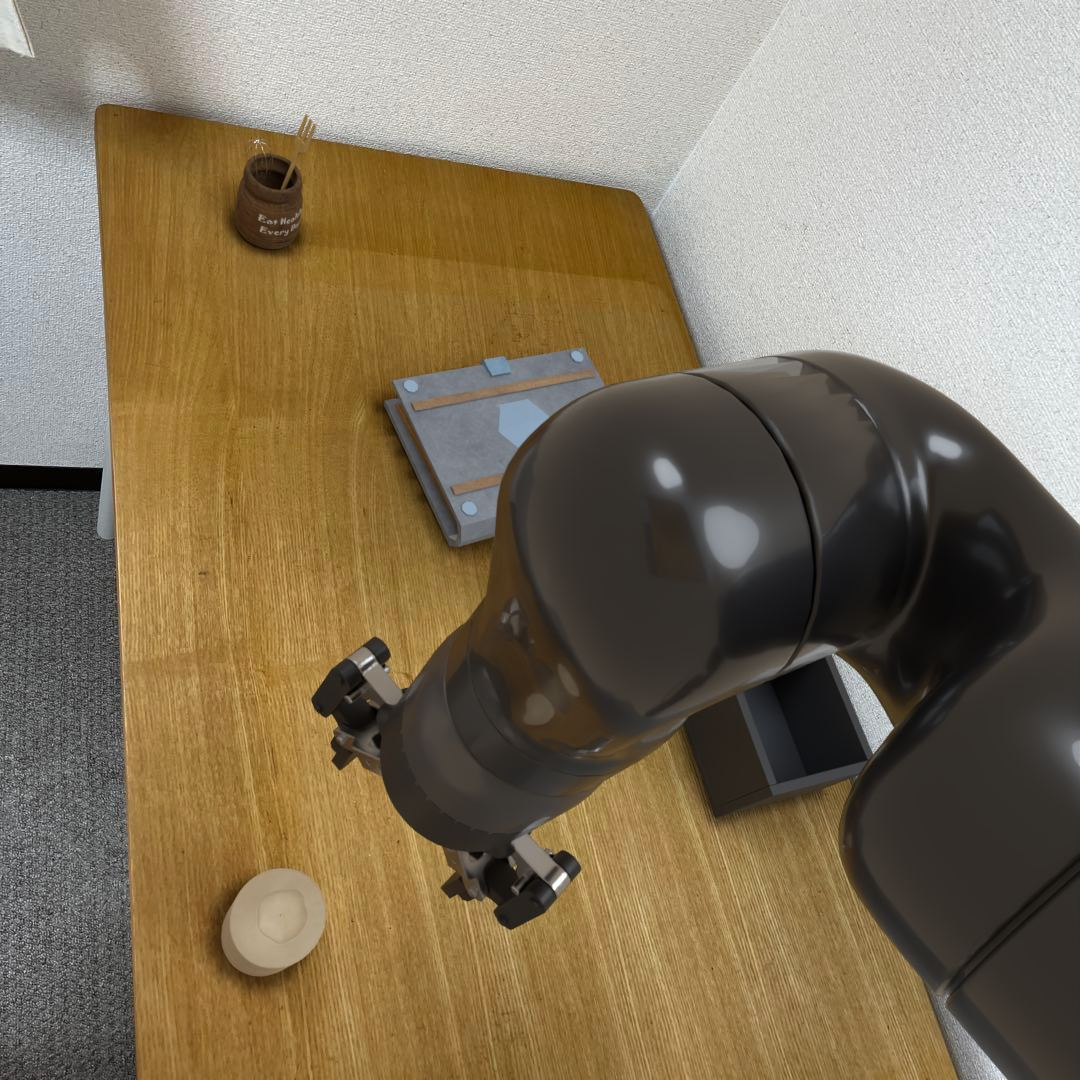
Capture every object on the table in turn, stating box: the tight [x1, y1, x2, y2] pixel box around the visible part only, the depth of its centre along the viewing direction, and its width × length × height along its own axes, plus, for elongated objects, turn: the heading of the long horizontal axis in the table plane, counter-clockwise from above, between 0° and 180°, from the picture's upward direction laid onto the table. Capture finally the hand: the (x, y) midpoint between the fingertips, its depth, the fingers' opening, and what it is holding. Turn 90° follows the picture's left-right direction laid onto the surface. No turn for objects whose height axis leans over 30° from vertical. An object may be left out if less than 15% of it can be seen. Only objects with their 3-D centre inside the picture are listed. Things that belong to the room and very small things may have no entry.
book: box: [383, 347, 606, 548], centre depth 84 cm, size 21×16×5 cm
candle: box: [220, 867, 327, 977], centre depth 56 cm, size 6×6×10 cm
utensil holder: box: [235, 113, 317, 250], centre depth 83 cm, size 6×6×12 cm
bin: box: [683, 654, 874, 819], centre depth 77 cm, size 11×11×9 cm
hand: (403, 816), depth 47 cm, fingers open, 8 cm apart
